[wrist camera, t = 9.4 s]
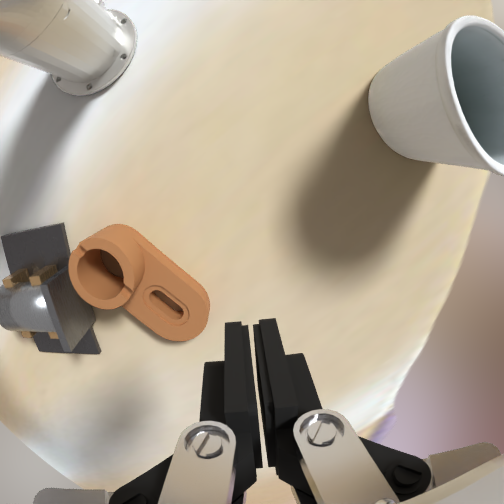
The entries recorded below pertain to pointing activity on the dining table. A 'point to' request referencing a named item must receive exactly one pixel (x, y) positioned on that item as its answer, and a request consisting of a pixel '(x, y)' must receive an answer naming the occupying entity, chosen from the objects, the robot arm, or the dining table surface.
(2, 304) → the pipe stub
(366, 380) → the dining table surface
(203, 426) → the robot arm
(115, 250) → the bracket
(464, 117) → the utensil holder
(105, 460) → the dining table surface
